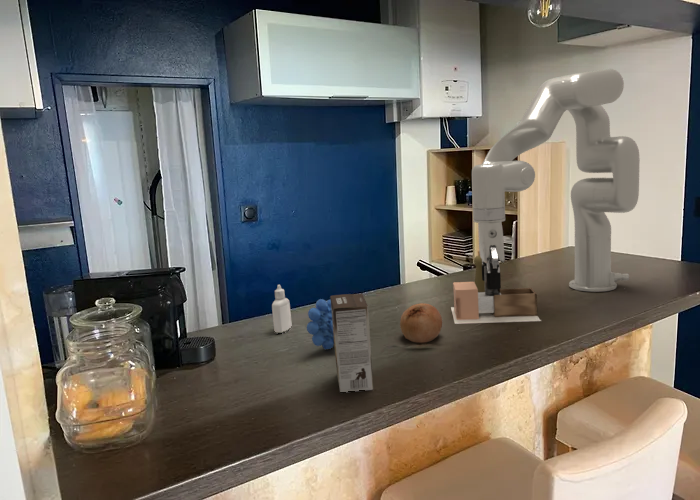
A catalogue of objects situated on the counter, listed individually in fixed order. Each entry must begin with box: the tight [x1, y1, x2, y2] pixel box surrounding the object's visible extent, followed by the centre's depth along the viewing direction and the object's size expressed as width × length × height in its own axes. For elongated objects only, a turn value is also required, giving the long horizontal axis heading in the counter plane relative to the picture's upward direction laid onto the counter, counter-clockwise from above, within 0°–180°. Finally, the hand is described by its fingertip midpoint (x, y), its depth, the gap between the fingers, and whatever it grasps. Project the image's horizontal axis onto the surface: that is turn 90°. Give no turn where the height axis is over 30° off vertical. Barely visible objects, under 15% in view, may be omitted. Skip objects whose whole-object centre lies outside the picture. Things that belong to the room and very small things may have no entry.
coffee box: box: [329, 293, 374, 393], centre depth 97 cm, size 9×6×16 cm
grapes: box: [306, 298, 334, 350], centre depth 115 cm, size 12×7×12 cm, turn 138°
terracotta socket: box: [452, 281, 479, 320], centre depth 131 cm, size 5×8×8 cm, turn 173°
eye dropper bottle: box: [271, 284, 293, 333], centre depth 132 cm, size 4×6×12 cm
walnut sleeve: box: [493, 287, 538, 317], centre depth 129 cm, size 10×6×6 cm, turn 83°
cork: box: [473, 254, 485, 292], centre depth 155 cm, size 6×6×11 cm
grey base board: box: [450, 306, 542, 325], centre depth 130 cm, size 20×14×1 cm
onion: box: [399, 302, 443, 344], centre depth 117 cm, size 10×9×10 cm
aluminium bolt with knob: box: [478, 266, 501, 313], centre depth 130 cm, size 10×4×11 cm, turn 83°
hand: (491, 284), depth 129 cm, fingers open, 8 cm apart
